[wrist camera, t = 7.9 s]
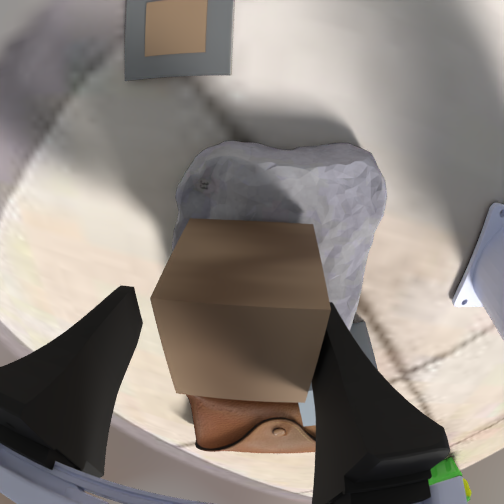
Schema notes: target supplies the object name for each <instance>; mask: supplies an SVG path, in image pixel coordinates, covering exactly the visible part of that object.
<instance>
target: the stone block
mask: <svg viewBox="0 0 504 504" xmlns="http://www.w3.org/2000/svg"><path fill="white" fill-rule="evenodd" d="M175 198H176V202H177V205H178V209H179V213H178V218H177V222H176V225H175V228H174V234H173V242H172V251H173V250H174V248H175V246H176V244H177V242H178V240H179V238H180V236H181V234H182V233H183V231H184V229H185V227H186V225H187V223H188V221H189V219H190V218H194V219H221V220H245V221H266V222H285V223H302V224H313V226H314V230H315V235H316V239H317V243H318V248H319V253H320V257H321V262H322V267H323V272H324V277H325V282H326V287H327V292H328V297H329V302H332V303H333V304H334V305H335V307H336V309H337V311H338V312H339V314H340V316H341V318H342V319H343V321H344V323H345V324H346V326H347V328H348V329H349V331H350V329H351V326H352V323H353V319H354V315H355V313H356V310H357V306H358V302H359V298H360V294H361V289H362V282H363V276H364V271H365V266H366V261H367V257H368V253H369V250H370V248H371V245H372V242H373V237H374V232H375V230H376V229H377V227H378V225H379V223H380V221H381V219H382V217H383V215H384V210H385V205H386V200H387V191H386V184H385V180H384V177H383V175H382V173H381V171H380V170H379V168H378V166H377V163H376V161H375V159H374V157H373V155H372V153H370V152H368V151H366V150H364V149H362V148H359V147H356V146H354V145H352V144H350V143H332V144H328V145H320V146H314V147H310V146H307V147H298V148H295V149H293V150H283V149H277V148H272V147H268V146H265V145H263V144H259V143H252V142H238V141H225V142H222V143H220V144H218V145H216V146H212V147H208V148H207V149H205V150H203V151H202V152H201V153H199V154H198V155H197V156H196V157H195V159H194V161H193V162H192V163H191V165H190V166H189V168H188V169H187V171H186V172H185V174H184V176H183V178H182V180H181V182H180V183H179V184H178V187H177V190H176V197H175Z"/></svg>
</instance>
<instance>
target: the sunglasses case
mask: <svg viewBox="0 0 504 504" xmlns="http://www.w3.org/2000/svg"><path fill="white" fill-rule="evenodd" d="M187 397H188V398H189V401H190V404H191V409H192V416H193V422H194V428H195V435H196V443H195V445H196V447H197V448H198V449H200V450H203V451H210V452H212V451H214V452H215V451H235V452H236V451H237V452H251V453H304V452H315V448H316V425H313V426H303V422H302V417H301V413H300V408H299V404H298V403H293V402H263V401H246V400H233V399H222V398H212V397H203V396H194V395H187Z"/></svg>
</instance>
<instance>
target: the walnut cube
mask: <svg viewBox="0 0 504 504" xmlns="http://www.w3.org/2000/svg"><path fill="white" fill-rule="evenodd" d="M150 299H151V304H152V308H153V312H154V316H155V320H156V324H157V328H158V332H159V335H160V339H161V343H162V347H163V350H164V354H165V357H166V361H167V364H168V368H169V371H170V374H171V378H172V381H173V384H174V387H175V390H176V393H179V394H186V395H194V396H203V397H212V398H222V399H233V400H246V401H263V402H293V403H305V401H306V398H307V395H308V391H309V388H310V385H311V381H312V378H313V375H314V371H315V368H316V364H317V361H318V357H319V354H320V350H321V346H322V342H323V339H324V335H325V331H326V327H327V323H328V319H329V315H330V311H331V307H330V302H329V297H328V292H327V287H326V282H325V277H324V272H323V267H322V262H321V257H320V253H319V248H318V243H317V239H316V235H315V230H314V226H313V224H302V223H285V222H266V221H245V220H221V219H194V218H190V219H189V221H188V223H187V225H186V227H185V229H184V231H183V233H182V234H181V236H180V238H179V240H178V242H177V244H176V246H175V248H174V250H173V252H172V254H171V256H170V258H169V260H168V262H167V264H166V266H165V268H164V270H163V273H162V275H161V277H160V279H159V281H158V283H157V285H156V287H155V289H154V291H153V294H152V296H151V298H150Z"/></svg>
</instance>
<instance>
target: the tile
mask: <svg viewBox="0 0 504 504" xmlns="http://www.w3.org/2000/svg"><path fill="white" fill-rule="evenodd" d="M234 6H235V0H127V6H126V25H125V81H131V80H139V79H150V78H161V77H176V76H201V75H231V74H232V48H233V26H234Z"/></svg>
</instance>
